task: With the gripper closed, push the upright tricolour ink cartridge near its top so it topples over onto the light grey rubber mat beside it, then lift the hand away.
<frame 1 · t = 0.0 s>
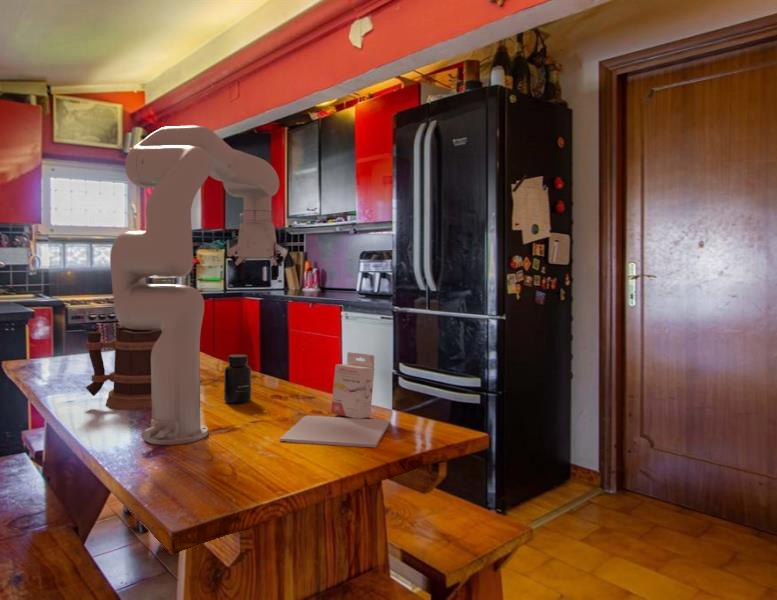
hand: (257, 279, 164), 31 cm above the table, tool pointing down, fingers open, 9 cm apart
mug: (136, 402, 151), on the table
supplement bottle: (237, 402, 153), on the table
ink cartridge box: (350, 416, 139), on the table
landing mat: (337, 431, 127), on the table
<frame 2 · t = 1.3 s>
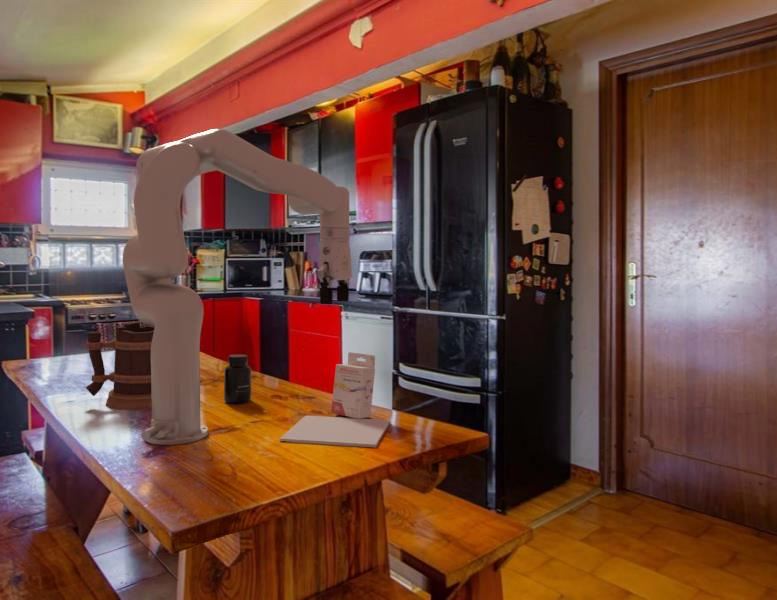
hand: (334, 302, 151), 26 cm above the table, tool pointing down, fingers open, 9 cm apart
ink cartridge box: (350, 416, 139), on the table, touching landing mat
everything else where it was.
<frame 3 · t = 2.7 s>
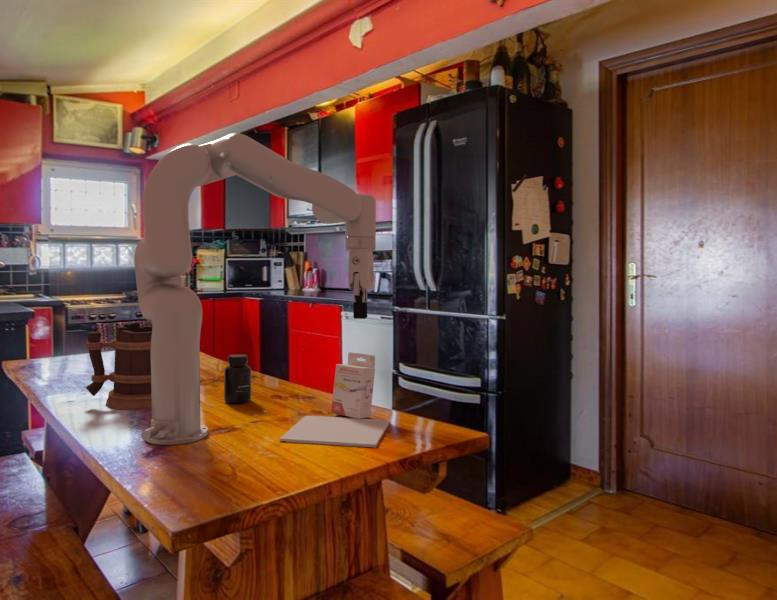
hand: (360, 318, 147), 23 cm above the table, tool pointing down, fingers closed
nothing on the table moved.
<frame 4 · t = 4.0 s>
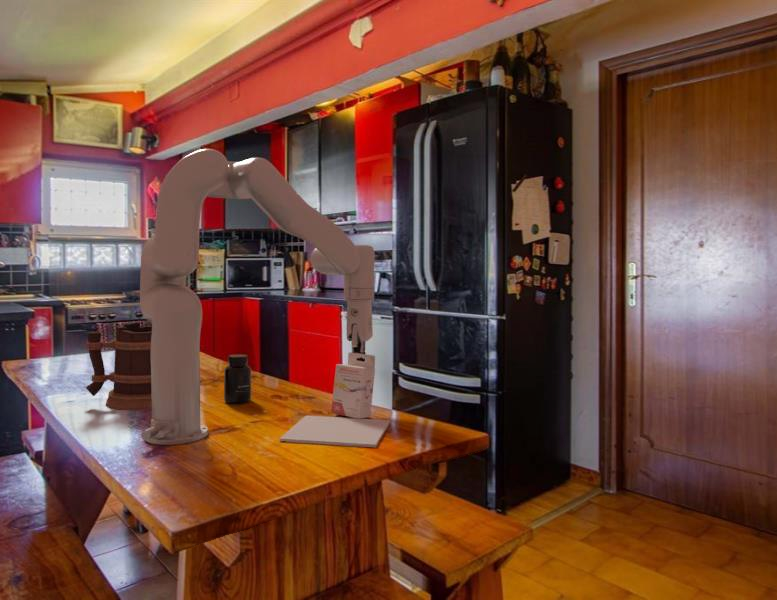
hand: (358, 367, 147), 10 cm above the table, tool pointing down, fingers closed
nothing on the table moved.
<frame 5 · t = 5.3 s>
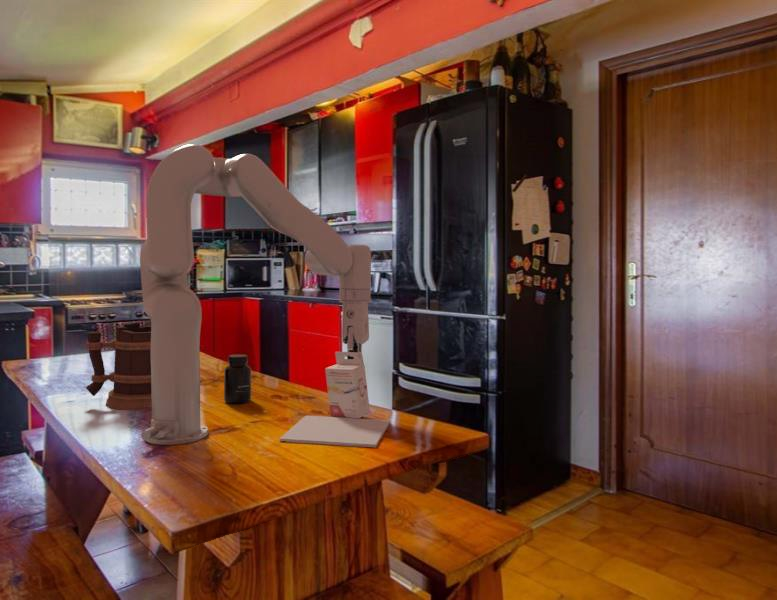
hand: (354, 371, 142), 10 cm above the table, tool pointing down, fingers closed
ink cartridge box: (350, 415, 139), on the table, touching gripper, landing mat
everything else where it was.
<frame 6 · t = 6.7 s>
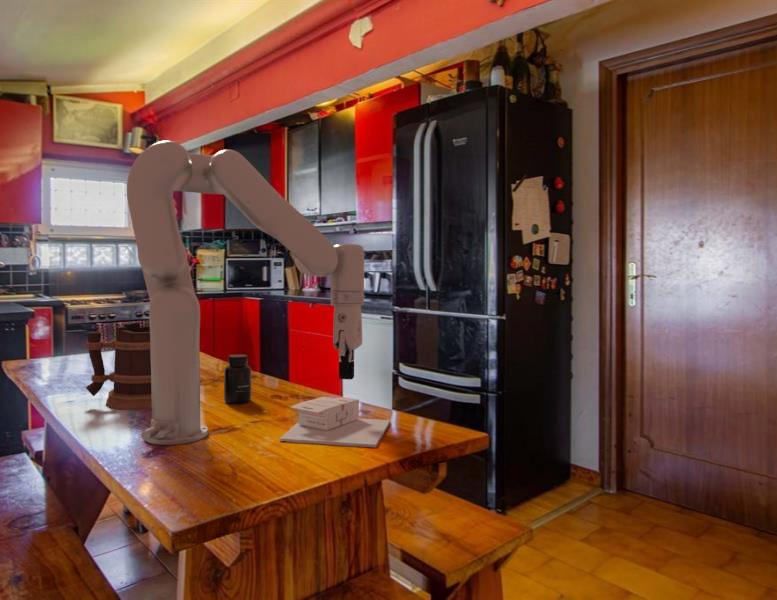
hand: (346, 378, 134), 10 cm above the table, tool pointing down, fingers closed
ink cartridge box: (345, 407, 137), point 3 cm above the table, touching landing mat
everything else where it was.
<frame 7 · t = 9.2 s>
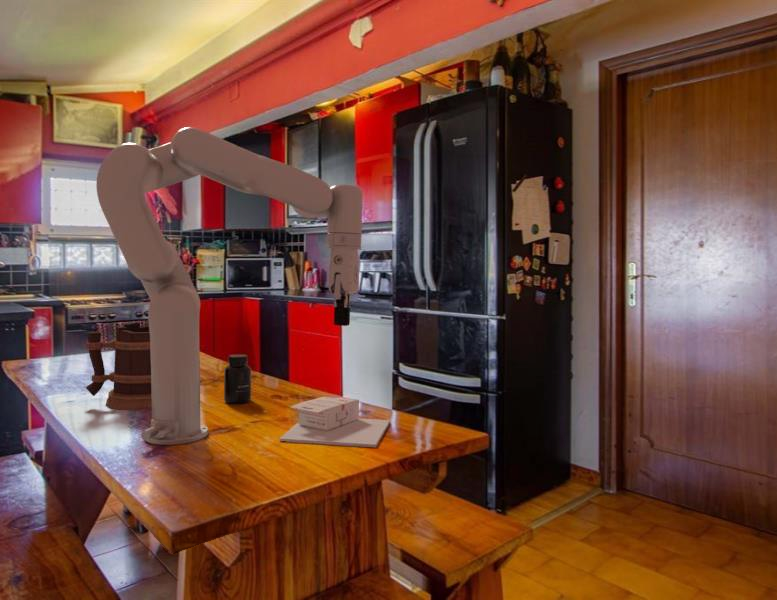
hand: (341, 324, 130), 23 cm above the table, tool pointing down, fingers closed
nothing on the table moved.
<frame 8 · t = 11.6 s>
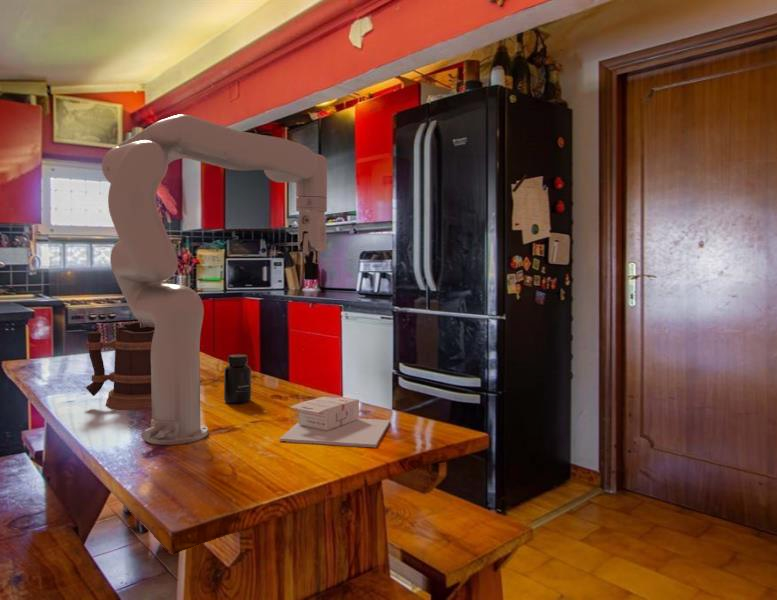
hand: (311, 279, 146), 32 cm above the table, tool pointing down, fingers closed
nothing on the table moved.
at the end: ink cartridge box tilted 88°; ink cartridge box touching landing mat; the gripper is holding nothing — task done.
